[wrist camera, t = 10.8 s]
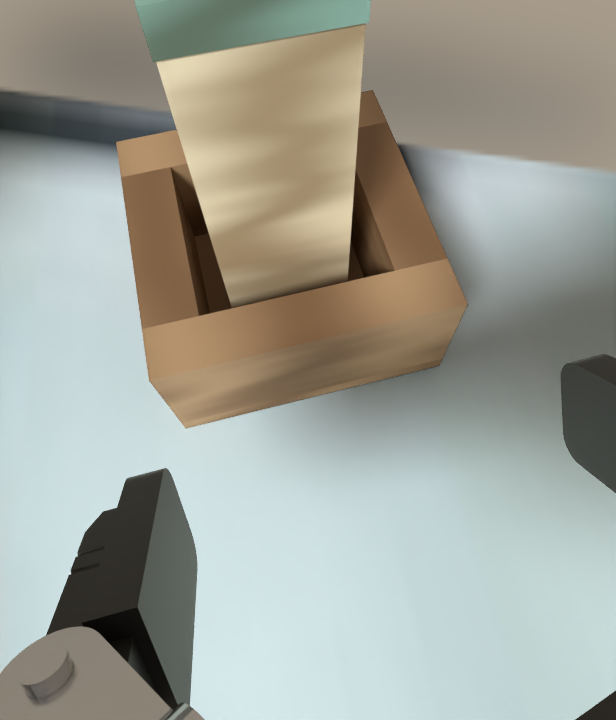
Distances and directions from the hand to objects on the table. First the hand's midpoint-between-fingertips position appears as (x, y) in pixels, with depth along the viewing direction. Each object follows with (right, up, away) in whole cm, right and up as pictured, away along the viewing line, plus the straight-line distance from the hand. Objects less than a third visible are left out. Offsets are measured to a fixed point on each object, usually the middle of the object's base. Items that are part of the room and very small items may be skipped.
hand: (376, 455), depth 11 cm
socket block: (-2, +5, +11) cm, 12 cm away
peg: (-2, +5, +10) cm, 12 cm away
